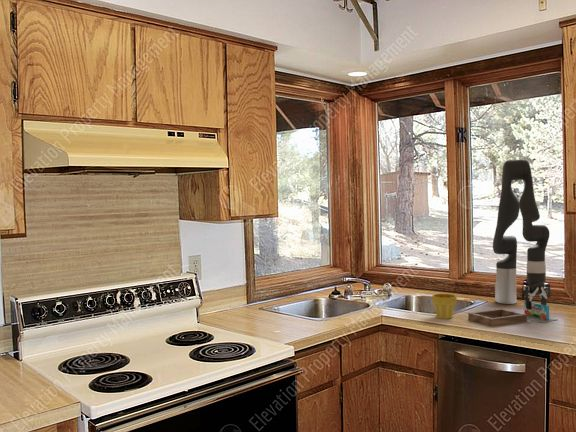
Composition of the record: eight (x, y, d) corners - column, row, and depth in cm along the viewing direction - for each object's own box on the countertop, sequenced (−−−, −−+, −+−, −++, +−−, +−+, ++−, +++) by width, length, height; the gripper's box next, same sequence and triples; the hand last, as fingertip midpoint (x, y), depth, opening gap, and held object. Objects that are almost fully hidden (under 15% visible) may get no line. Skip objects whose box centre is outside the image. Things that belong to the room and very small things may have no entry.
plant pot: (451, 320, 238) (451, 298, 238) (428, 318, 245) (428, 296, 244) (460, 316, 247) (460, 294, 246) (437, 313, 253) (437, 292, 252)
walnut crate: (468, 319, 239) (468, 313, 239) (502, 315, 247) (502, 308, 247) (492, 326, 227) (492, 319, 226) (526, 321, 234) (526, 314, 234)
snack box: (524, 315, 245) (524, 301, 245) (526, 314, 246) (526, 301, 246) (546, 320, 234) (546, 306, 234) (549, 320, 235) (549, 305, 235)
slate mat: (514, 316, 245) (514, 315, 245) (531, 313, 249) (531, 313, 249) (540, 322, 232) (540, 322, 232) (558, 319, 236) (558, 319, 236)
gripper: (541, 268, 246) (541, 305, 247) (516, 271, 240) (517, 308, 241) (555, 271, 239) (555, 308, 240) (530, 273, 233) (531, 311, 234)
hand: (536, 308), depth 240 cm, fingers open, 8 cm apart
